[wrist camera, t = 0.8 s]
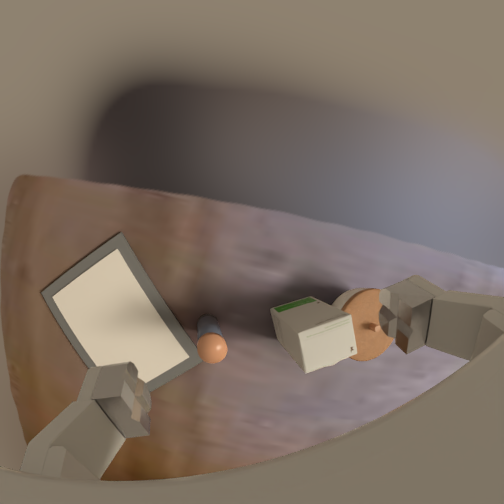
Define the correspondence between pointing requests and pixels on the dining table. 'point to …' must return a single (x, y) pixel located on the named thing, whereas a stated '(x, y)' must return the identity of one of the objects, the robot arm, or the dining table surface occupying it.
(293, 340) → the skincare box
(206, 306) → the dining table surface
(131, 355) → the mat
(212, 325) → the marker
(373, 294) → the lidded bowl
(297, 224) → the dining table surface
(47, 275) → the dining table surface
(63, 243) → the dining table surface
